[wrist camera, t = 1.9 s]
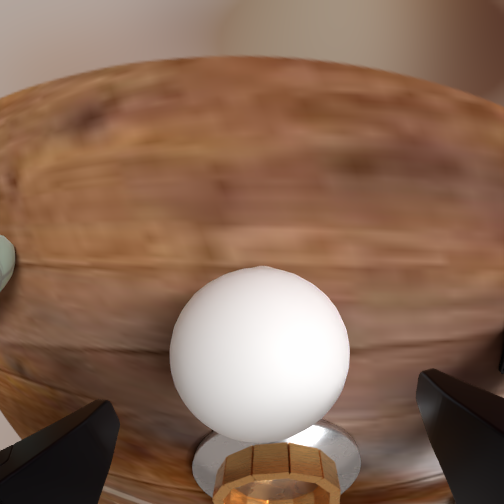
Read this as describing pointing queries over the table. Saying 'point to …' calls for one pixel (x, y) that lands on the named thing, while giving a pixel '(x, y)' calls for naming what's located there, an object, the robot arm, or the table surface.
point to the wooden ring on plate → (278, 467)
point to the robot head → (6, 261)
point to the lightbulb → (259, 355)
